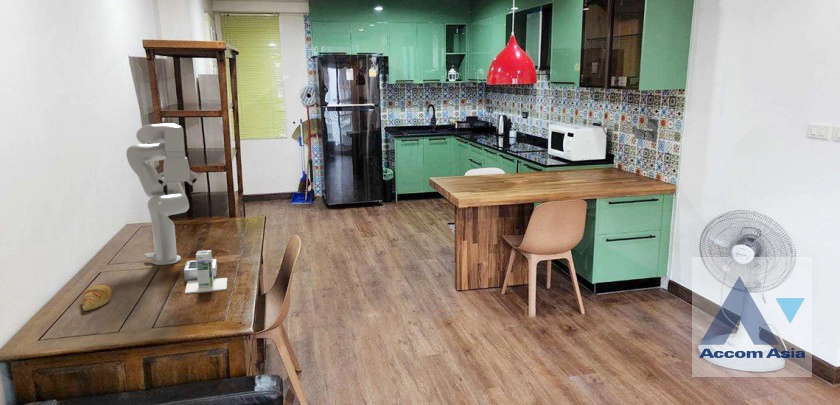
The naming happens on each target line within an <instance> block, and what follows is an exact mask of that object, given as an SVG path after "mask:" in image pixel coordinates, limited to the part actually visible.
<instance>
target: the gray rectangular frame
mask: <svg viewBox="0 0 840 405" xmlns="http://www.w3.org/2000/svg"><path fill="white" fill-rule="evenodd" d="M212 266H213V279H217V271H218V262H217V258H212ZM183 273H184V282H188V281H196V280H198V275H197V264H196V259H195V260H186V262H185V266H184V270H183Z"/></svg>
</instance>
